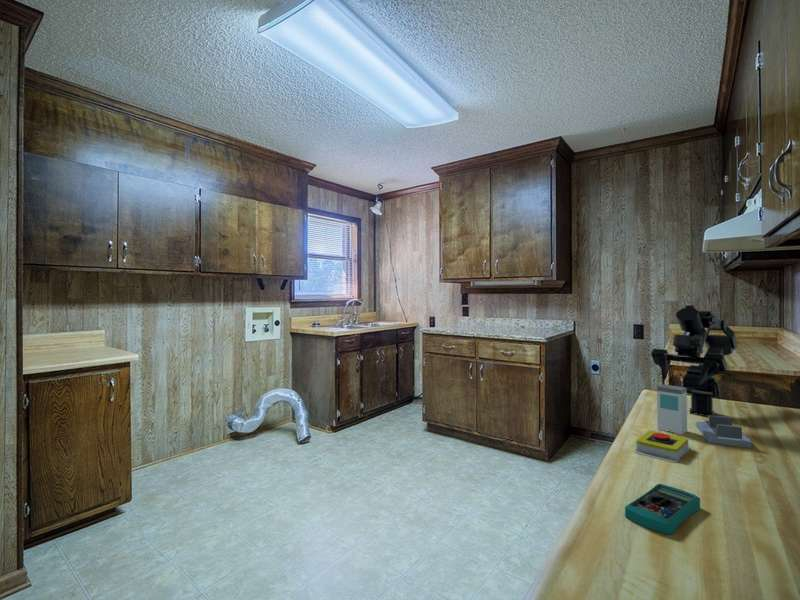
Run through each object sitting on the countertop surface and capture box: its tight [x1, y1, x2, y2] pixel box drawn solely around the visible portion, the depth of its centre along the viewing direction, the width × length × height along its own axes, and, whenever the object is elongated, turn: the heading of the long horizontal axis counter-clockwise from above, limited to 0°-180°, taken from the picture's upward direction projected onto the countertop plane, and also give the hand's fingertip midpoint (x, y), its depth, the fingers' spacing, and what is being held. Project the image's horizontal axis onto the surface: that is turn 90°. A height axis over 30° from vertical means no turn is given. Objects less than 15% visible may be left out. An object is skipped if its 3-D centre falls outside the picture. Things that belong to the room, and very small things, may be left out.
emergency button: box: [633, 430, 692, 463], centre depth 104 cm, size 9×4×15 cm
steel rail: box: [703, 420, 742, 441], centre depth 112 cm, size 15×5×1 cm, turn 154°
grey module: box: [656, 383, 688, 435], centre depth 118 cm, size 5×6×12 cm
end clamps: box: [708, 415, 743, 439], centre depth 110 cm, size 10×5×3 cm, turn 154°
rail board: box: [695, 420, 753, 449], centre depth 112 cm, size 15×9×2 cm, turn 154°
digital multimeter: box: [624, 483, 701, 536], centre depth 74 cm, size 7×15×3 cm, turn 127°
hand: (680, 381), depth 122 cm, fingers open, 9 cm apart
